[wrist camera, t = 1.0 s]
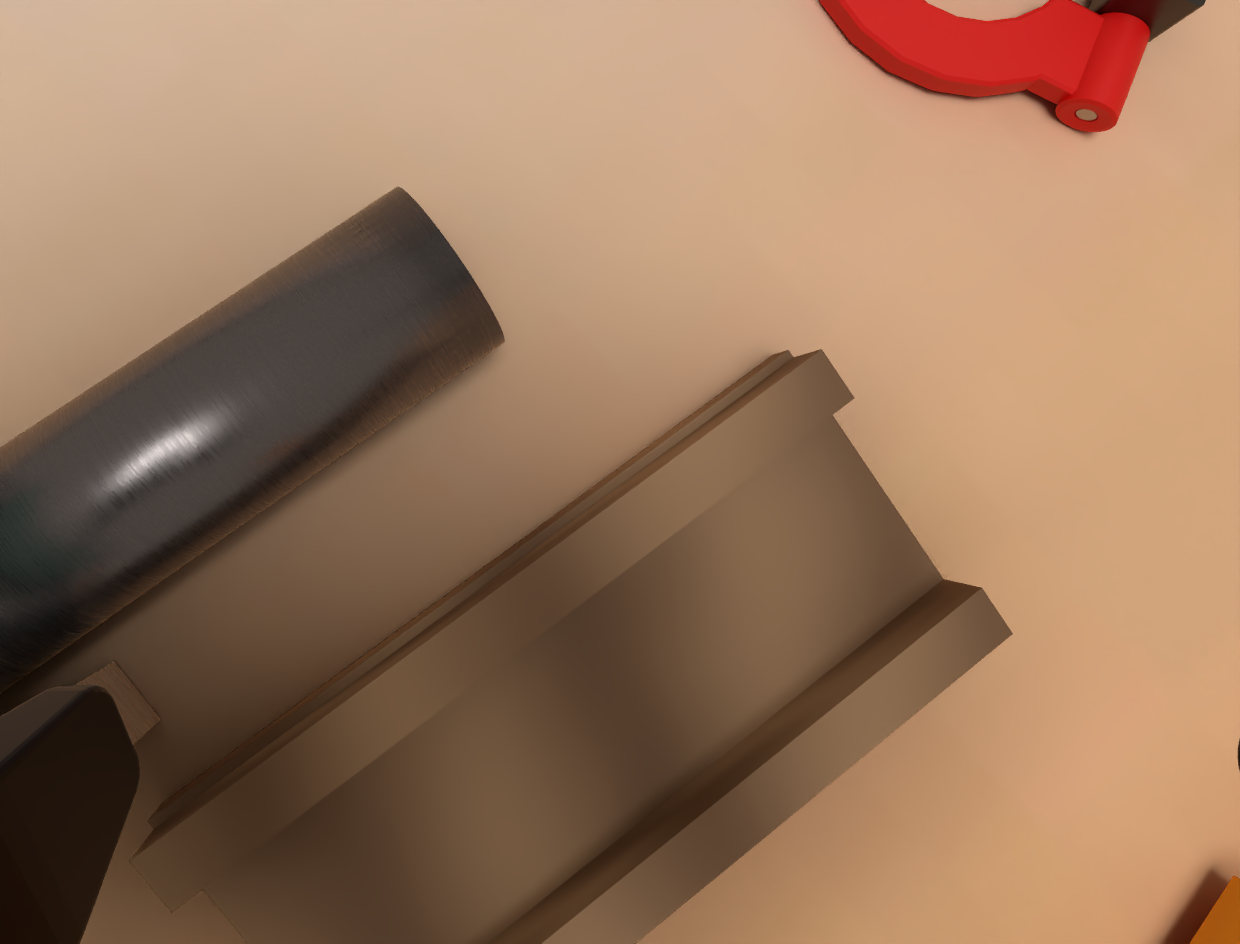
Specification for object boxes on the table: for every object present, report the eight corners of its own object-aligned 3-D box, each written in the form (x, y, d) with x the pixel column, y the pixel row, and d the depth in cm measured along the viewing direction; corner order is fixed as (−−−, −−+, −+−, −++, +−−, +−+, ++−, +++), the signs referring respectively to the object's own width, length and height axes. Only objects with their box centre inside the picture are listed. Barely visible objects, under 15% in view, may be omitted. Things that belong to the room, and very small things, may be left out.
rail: (386, 1082, 21) (380, 1166, 19) (161, 803, 20) (121, 852, 18) (954, 621, 23) (1018, 641, 21) (772, 355, 23) (816, 340, 20)
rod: (-80, 766, 20) (-210, 813, 16) (-189, 617, 20) (-343, 631, 16) (504, 358, 22) (504, 319, 18) (405, 223, 22) (386, 158, 18)
